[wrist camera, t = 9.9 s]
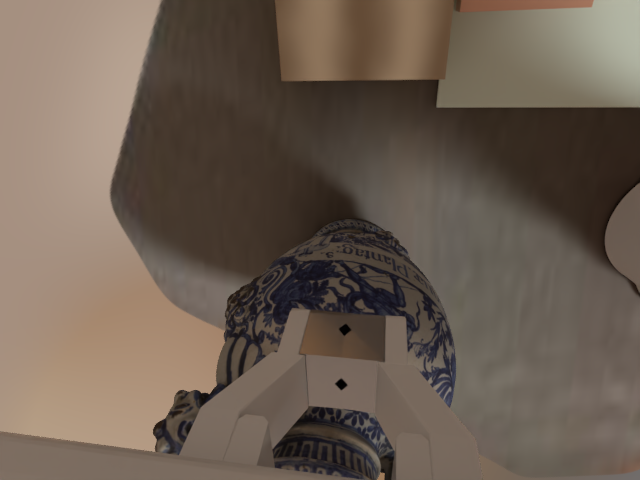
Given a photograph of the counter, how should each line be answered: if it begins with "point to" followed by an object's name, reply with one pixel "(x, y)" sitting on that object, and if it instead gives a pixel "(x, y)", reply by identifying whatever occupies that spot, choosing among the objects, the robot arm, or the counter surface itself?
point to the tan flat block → (363, 39)
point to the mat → (544, 57)
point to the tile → (518, 5)
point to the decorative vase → (336, 296)
